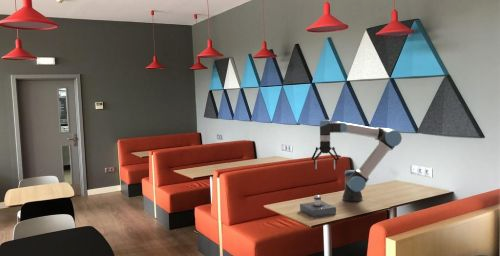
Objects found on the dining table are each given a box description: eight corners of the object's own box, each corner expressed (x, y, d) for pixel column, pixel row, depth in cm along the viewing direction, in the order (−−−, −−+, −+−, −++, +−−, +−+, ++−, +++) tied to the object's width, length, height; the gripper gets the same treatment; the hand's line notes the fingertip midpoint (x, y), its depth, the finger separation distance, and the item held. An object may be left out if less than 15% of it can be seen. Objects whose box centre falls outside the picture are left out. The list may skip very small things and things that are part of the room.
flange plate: (321, 207, 297) (321, 201, 297) (336, 214, 281) (335, 207, 280) (300, 211, 290) (300, 204, 290) (313, 217, 274) (313, 210, 274)
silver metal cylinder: (314, 211, 288) (313, 194, 287) (321, 211, 288) (320, 195, 287) (314, 213, 284) (314, 196, 283) (321, 213, 283) (321, 196, 282)
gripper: (308, 141, 301) (308, 169, 303) (342, 141, 298) (342, 169, 299) (308, 140, 308) (308, 168, 310) (341, 139, 305) (341, 168, 307)
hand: (325, 169), depth 305 cm, fingers open, 13 cm apart
